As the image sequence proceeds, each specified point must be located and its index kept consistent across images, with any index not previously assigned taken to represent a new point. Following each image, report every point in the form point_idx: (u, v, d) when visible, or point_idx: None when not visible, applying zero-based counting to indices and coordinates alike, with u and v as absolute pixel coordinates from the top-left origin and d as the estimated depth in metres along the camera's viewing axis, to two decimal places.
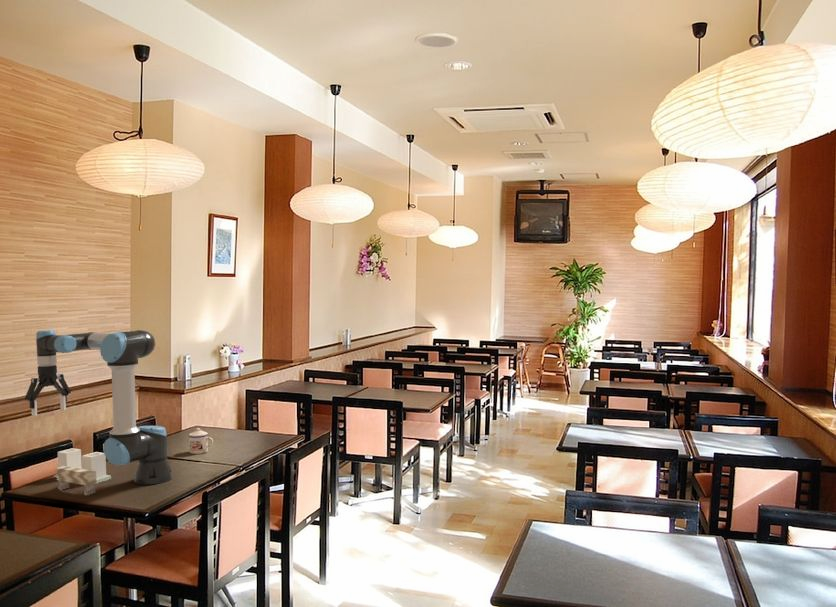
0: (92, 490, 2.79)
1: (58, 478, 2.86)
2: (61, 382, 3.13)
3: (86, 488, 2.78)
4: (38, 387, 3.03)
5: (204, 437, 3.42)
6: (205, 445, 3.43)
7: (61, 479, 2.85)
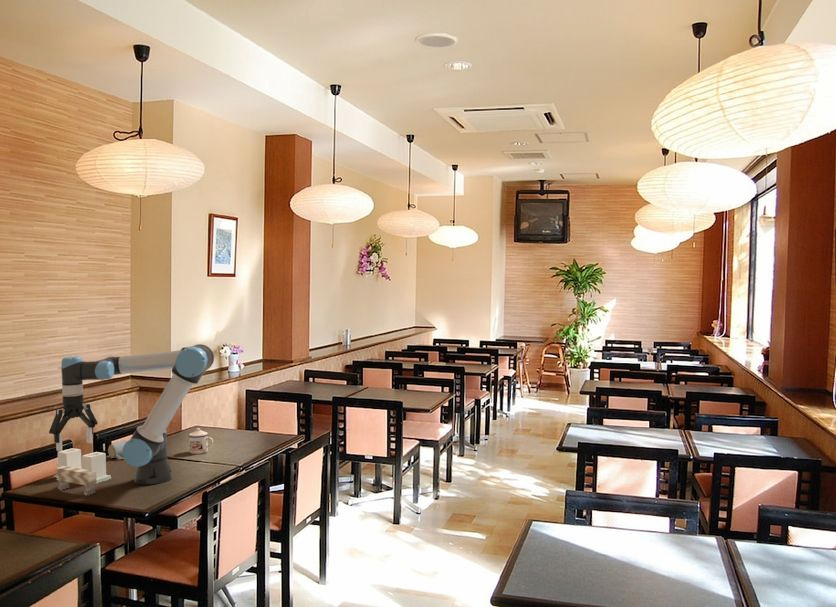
0: (92, 490, 2.79)
1: (58, 478, 2.86)
2: (87, 413, 2.88)
3: (86, 488, 2.78)
4: (63, 419, 2.78)
5: (204, 437, 3.42)
6: (205, 445, 3.43)
7: (61, 479, 2.85)
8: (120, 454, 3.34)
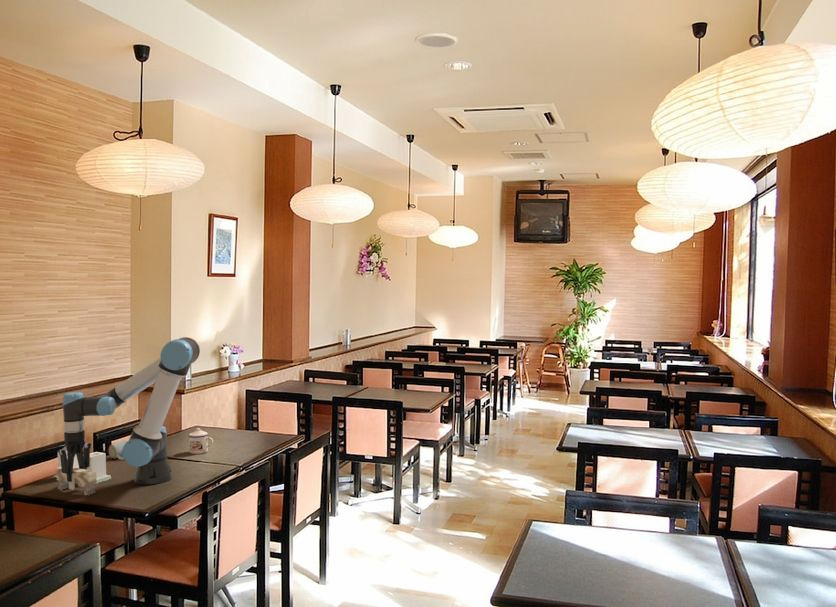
0: (92, 490, 2.79)
1: (58, 478, 2.86)
2: (85, 452, 2.87)
3: (86, 488, 2.78)
4: (69, 457, 2.80)
5: (204, 437, 3.42)
6: (205, 445, 3.43)
7: (61, 479, 2.85)
8: (121, 454, 3.33)
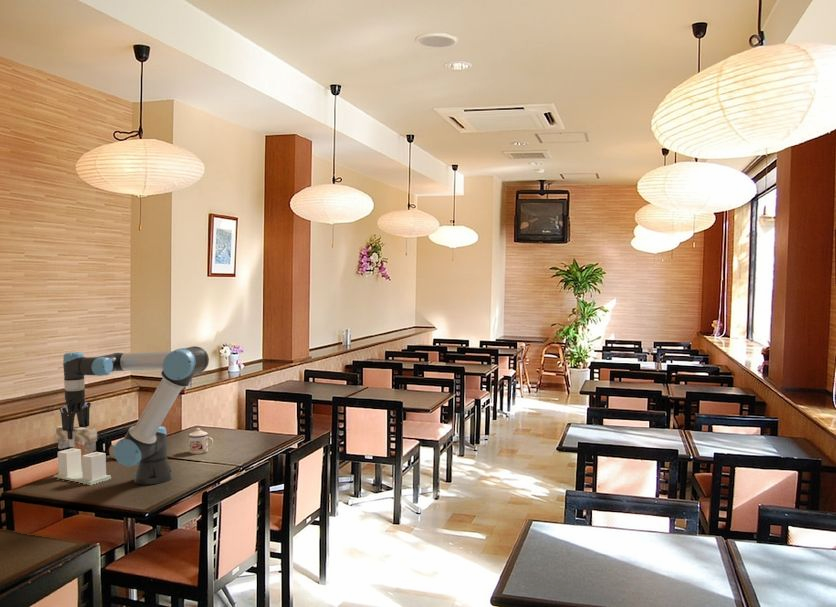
0: (93, 447, 2.85)
1: (58, 437, 2.90)
2: (85, 411, 2.92)
3: (87, 445, 2.83)
4: (70, 415, 2.85)
5: (204, 437, 3.42)
6: (205, 445, 3.43)
7: (61, 438, 2.89)
8: None
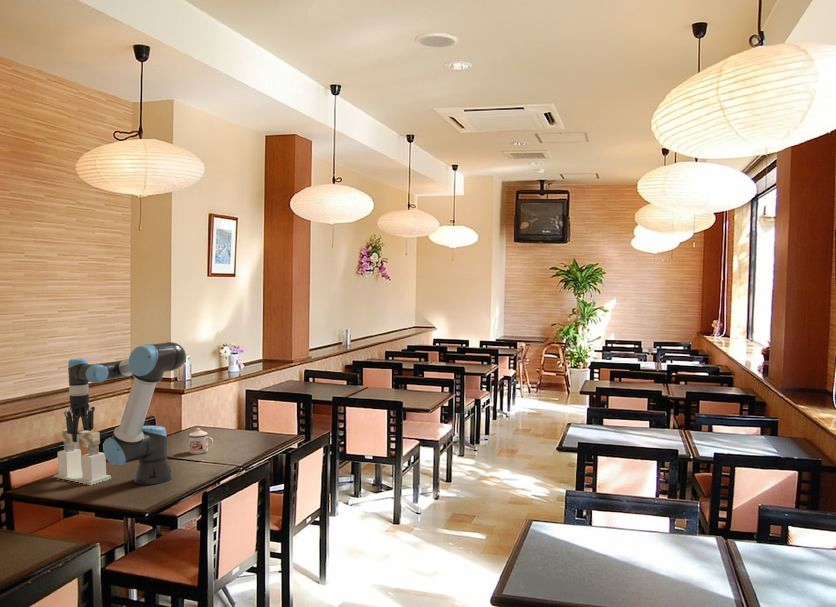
0: (96, 450, 2.97)
1: (64, 439, 3.03)
2: (89, 415, 3.04)
3: (90, 448, 2.95)
4: (74, 419, 2.98)
5: (204, 437, 3.42)
6: (205, 445, 3.43)
7: (66, 440, 3.02)
8: None
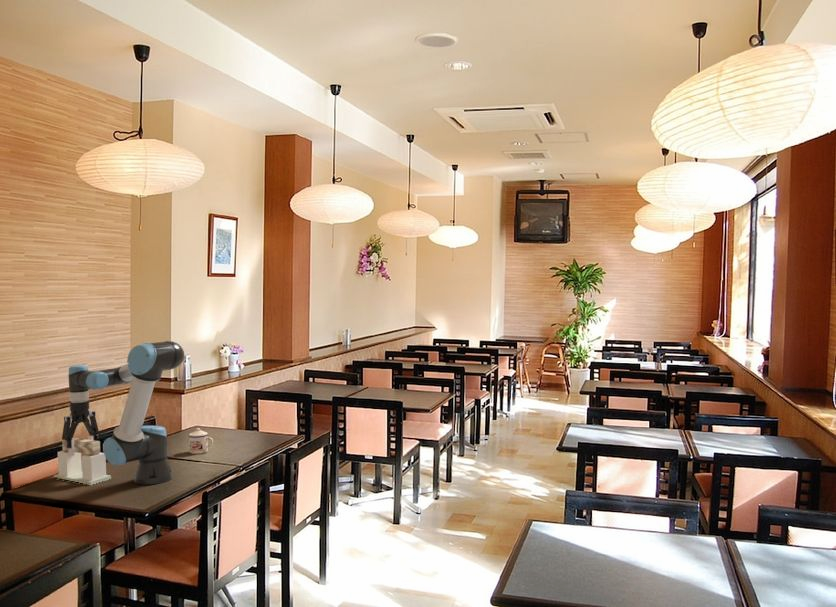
0: None
1: (64, 448, 3.03)
2: (91, 420, 3.05)
3: None
4: (72, 425, 2.97)
5: (204, 437, 3.42)
6: (205, 445, 3.43)
7: (67, 449, 3.02)
8: None
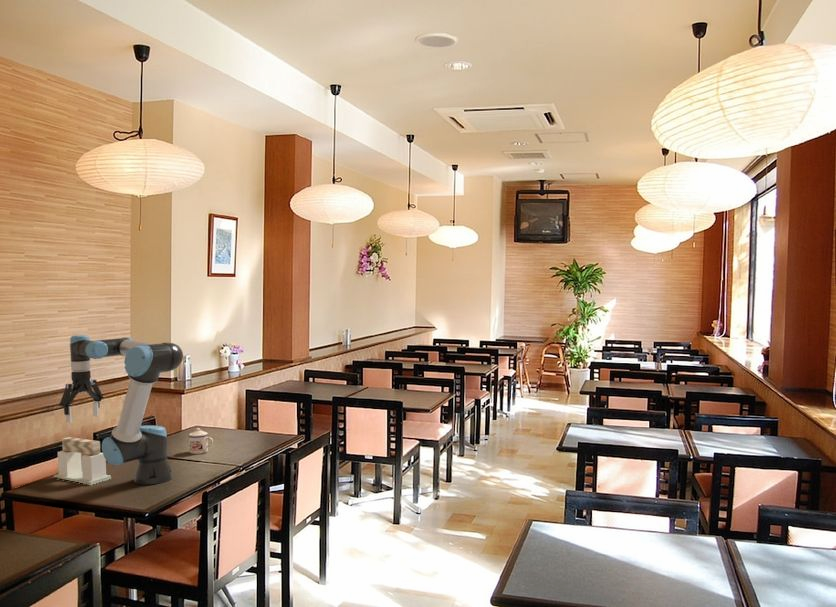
0: None
1: (64, 448, 3.03)
2: (94, 388, 3.08)
3: None
4: (72, 393, 2.98)
5: (204, 437, 3.42)
6: (205, 445, 3.43)
7: (67, 449, 3.02)
8: None
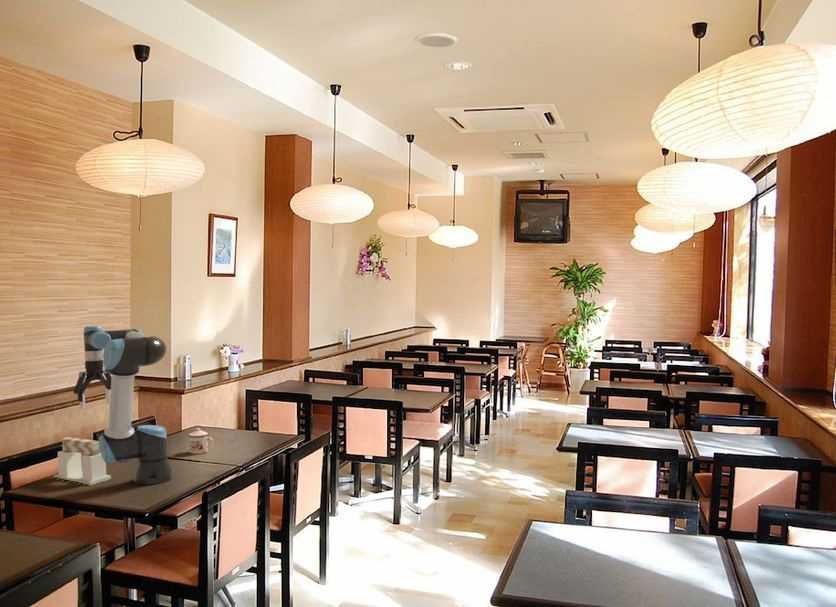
0: None
1: (64, 448, 3.03)
2: (107, 376, 3.21)
3: None
4: (86, 381, 3.12)
5: (204, 437, 3.42)
6: (205, 445, 3.43)
7: (67, 449, 3.02)
8: None
